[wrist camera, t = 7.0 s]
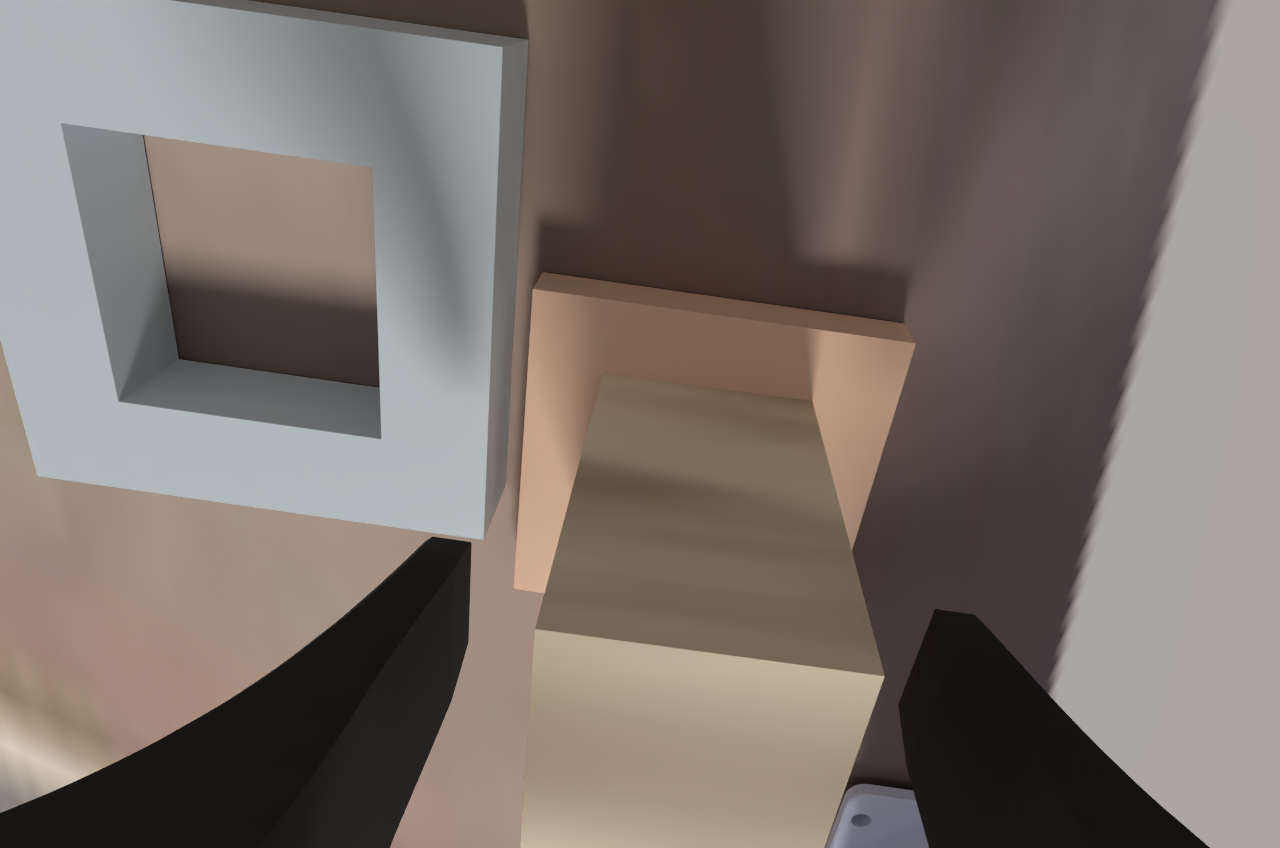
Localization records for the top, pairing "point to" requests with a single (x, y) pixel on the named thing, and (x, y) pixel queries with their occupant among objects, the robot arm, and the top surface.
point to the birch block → (698, 631)
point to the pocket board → (135, 277)
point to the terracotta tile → (694, 383)
